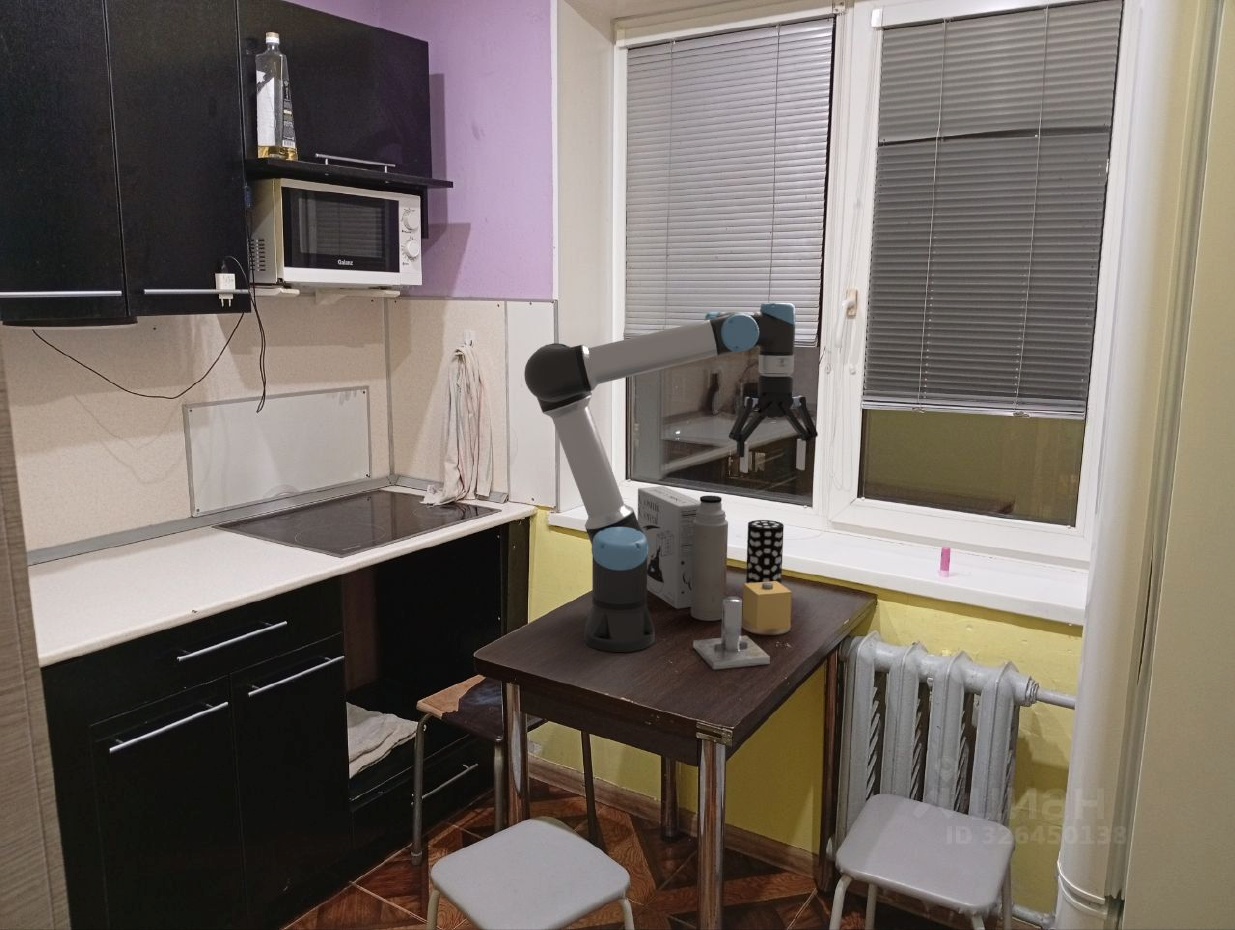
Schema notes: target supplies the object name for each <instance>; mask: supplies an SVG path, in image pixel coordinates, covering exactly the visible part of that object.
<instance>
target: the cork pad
mask: <svg viewBox="0 0 1235 930" xmlns="http://www.w3.org/2000/svg"><path fill="white" fill-rule="evenodd" d="M791 626H792V625H791V622H790V627H789V628H779V629H768V630H755V629H754V628H753V627H752V626H751V625H750V624H749V623H747V622H746V621H745V620H744V619H743V618H742V623H741V629H744V630H745V631H747V632H750V633H753V634H757V635H761V636H762V635H763V636H764V635H766V636H777V635H782V634H785V633H787V632H789V631H790V630H791Z"/></svg>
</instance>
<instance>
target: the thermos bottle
mask: <svg viewBox="0 0 1235 930" xmlns="http://www.w3.org/2000/svg"><path fill="white" fill-rule="evenodd" d="M722 499H723V498H722V497H721V496H718V495H702V496H700V497H699V501H701V503H700V509H699V510H697V511H696V519H694V520H693V543H692V590H691V607H690V615H691V617H693V618H694V619H696V620H700V621H707V622H709V621H711V622H712V621H713V622H714V621H720V620H722V599H723V598H724V597H727V568H728V566H727V565H728V540H729V539H728V538H729V537H728V535H729V532H728V531H729V521H728V520H727V519H726V517H727V515H726V511H725V510H724V509H722Z"/></svg>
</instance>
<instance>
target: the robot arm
mask: <svg viewBox="0 0 1235 930" xmlns="http://www.w3.org/2000/svg"><path fill="white" fill-rule="evenodd" d="M796 326H797V324H796V307H795V305H794V304H793V303H790V302H763V303H761V305H760V309H759V311H753V312H751V311H721V310H720V311H709V312H707V313H706V314H705V316H704V320H703V321H698V322H694V323H691V324H685V325H681V326H678V327H673V328H668V329H665V330H660V331H655V332H653V333H646V334H644V335H640V336H634V337H630V338H627V339H622V340H618V341H614V342H610V343H605V344H602V345H597V346H592V347H588V346H586V345H585V344H579V345H574V346H568V345H566V344H564V343H558V342H557V343H556V342H553V343H550V344H549V343H548V344H545V345H544V346H541V347H540V348H537V349H536V350H535V352H533V353H532V354H531V356H530V357H529V358H528V359H527V361H526V363H525V367H524V372H523V373H524V374H523V376H524V381H525V384H526V386H527V388H528V389H527V390H529V392H530V393H531V394H532V395H533V396H534V397H536V399H537V402H538V404H539V408H540V409H541V412H542V414H543V415H546V416H548V417H549V418H551V420H552V422H553V424H554V427H555V430H556V433H557V435H558V439H559V440H560V444H561V446H562V450H563V452H564V454H565V457H566V459H567V463H568V465H569V468H570V471H571V475H572V477H573V479H574V481H575V484H576V487H577V490H578V493H579V494H580V495H579V496H580V498H581V500H582V503H583V506H584V509H585V512H586V513H587V520H586V521H585V524H584V528H585V530H586V534H587V536H588V539H589V542H590V544H591V554H592V561H591V562H592V578H591V579H592V591H591V592H592V599H591V600H592V602H591V603H592V604H591V608H590V611H589V613H588V617H587V620H586V623H585V625H584V628H583V629H584V630H583V632H584V634H583V635H584V637H583V638H584V642H585V644H586V645H588V646H589V647H591V648H593V649H595V650H599V651H603V652H609V653H629V652H631V653H632V652H637V651H641V650H644V649H646V648H649V647H651V646H652V645H653V644H654V642H655V638H656V637H655V634H656V633H655V628H654V624H653V621H652V617H651V615H650V612H649V608H648V601H647V599H648V598H647V597H648V590H647V555H648V545H647V539H646V536H645V534H644V532H643V530H642V529H641V527H640V526H639V524H638V517H637V515H636V513H635V510H634V508H633V507H632V506H630V505H627V504H625V503H624V499H623V496H622V494H621V492H620V488H619V486H618V483H617V480H616V478H615V477H616V476H615V474H614V472H613V469H612V467H611V463H610V461H609V458H608V455H607V453H606V450H605V447H604V445H603V442H602V438H601V436H600V434H599V431H598V427H597V425H596V422H595V420H594V417H593V414H592V411H591V409H590V406H589V403H590V400H591V398H592V396H593V394H592V391H595V389H596V387H597V386H598V385H599V384H604V383H609V382H613V381H617V380H621V379H626V378H630V377H633V376H637V375H643V374H646V373H651V372H655V371H659V370H663V369H667V368H671V367H672V368H673V367H675V366H680V365H683V364H688V363H692V362H697V361H701V360H705V359H709V358H713V357H718V356H723V355H727V354H731V353H744V352H746V351H749V350H751V349H752V348H758V350H759V352H758V373H759V374H760V375H759V376H758V379H757V397H755V398H753V397H749V396H744V398H743V402H742V403H743V404H742V407H741V410H740V411H739V414H738V416H737V418H736V419H735V422H734V424H733V425H732V427H731V430H730V432H729V433H728V438H729V439H730V440H733V441H735V442H736V456H737V457H739V471H740V472H742V473H744V474H745V473H747V474H748V472H749V471H748V470H749V448H750V447H749V446H750V445H749V443H750V442H746V441H747V440H748V439H749V437H750V436H751V435H752V434H753V432H754V431H755V430H756V429H757V428H758V427H759V426H760V424H761V423H762V421H764V420H765V419H766V418H785V419H786V420H787V422H788V424H790V426H791V427H792V428H793V429H794V431H795V432H796V433H797V435H798V436H799V437H800V438H798V439H796V440H797V441H796V463H795V465H796V466H795V468H796V469H798V470H800V471H805V467H806V466H805V465H806V455H808V454H809V452H810V442H811V441H812V440H813V438H818V436H819V434H818V431H817V429H816V426H815V424H814V422H813V419H812V417H811V414H810V412H809V409H808V407H807V399H806V397H805V396H802V395H799V394H798V395H797V396H793V391H794V389H793V388H794V377H793V376H792V374H793V373H794V367H795V365H794V364H795V339H796ZM756 405H757V407H758V408H757V410H756V411H755V412H754V415H753V417H751V419H750V420H749V421H748V418H749V416H750V414H751V412H752V410H753V408H754V407H755V406H756ZM793 405H794V406H795V407H796V409H797V411H798V413H799V416H800V418H801V420H802V423H803V425H804V427H803V425H802V424H801V422H800V421H799V419H798V418H797V417H796V416H795V414H794V412H793V411H792V410H791V408H792V406H793ZM747 421H748V423H747ZM745 424H746V425H745Z"/></svg>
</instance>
